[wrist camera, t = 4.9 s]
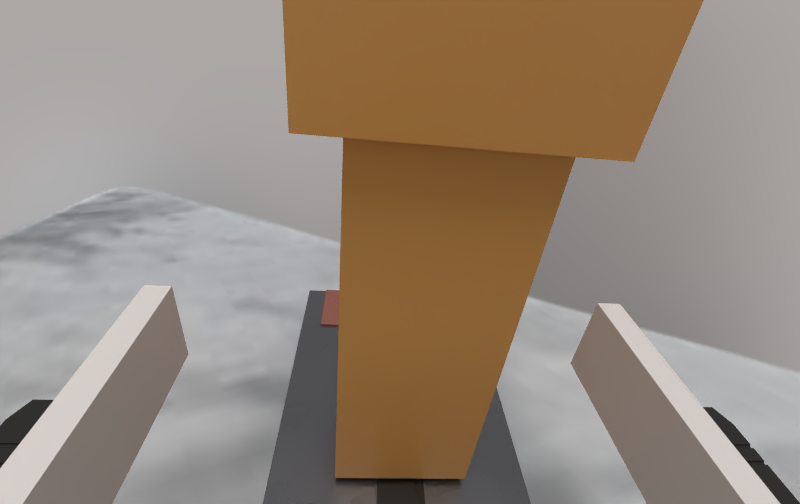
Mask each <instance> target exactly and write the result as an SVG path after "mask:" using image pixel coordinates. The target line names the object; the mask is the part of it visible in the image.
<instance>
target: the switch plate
mask: <svg viewBox="0 0 800 504" xmlns="http://www.w3.org/2000/svg"><path fill="white" fill-rule="evenodd" d="M339 292H340V291H337V290H326V291H310V292H309V297H308V301H307V306H306V311H305V315H304V320H303V324H302V329H301V333H300V338H299V342H298V347H297V351H296V356H295V360H294V365H293V370H292V374H291V379H290V383H289V388H288V392H287V397H286V401H285V406H284V410H283V415H282V420H281V424H280V429H279V433H278V438H277V442H276V447H275V451H274V456H273V460H272V465H271V469H270V474H269V479H268V483H267V488H266V492H265V497H264V501H263V504H531V503H530V500H529V497H528V493H527V490H526V486H525V483H524V480H523V476H522V473H521V469H520V466H519V463H518V459H517V456H516V452H515V449H514V446H513V442H512V439H511V435H510V432H509V429H508V425H507V422H506V419H505V415H504V412H503V408H502V405H501V402H500V398H499V395H498V391H497V388H496V389H495V392H494V395H493V398H492V401H491V404H490V407H489V410H488V412H487V415H486V418H485V421H484V424H483V427H482V430H481V433H480V436H479V438H478V441H477V444H476V447H475V450H474V453H473V456H472V459H471V462H470V465H469V467H468V470H467V473H466V476H465V479H410V478H335V455H336V415H337V374H338V333H339Z"/></svg>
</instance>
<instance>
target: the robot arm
mask: <svg viewBox="0 0 800 504" xmlns="http://www.w3.org/2000/svg"><path fill="white" fill-rule="evenodd" d="M187 356H188V351H187V346H186V342H185V338H184V334H183V330H182V326H181V322H180V318H179V314H178V310H177V305H176V301H175V297H174V293H173V289H172V286H154V285H144V286H143V287H142V288H141V290H140V291H139V292H138V293H137V295H136V296H135V297H134V298H133V300H132V301H131V302H130V304H129V305H128V306H127V307H126V309H125V310H124V311H123V313H122V314H121V315H120V316H119V318H118V319H117V320H116V321H115V323H114V324H113V325H112V327H111V328H110V329H109V330H108V332H107V333H106V334H105V335H104V337H103V338H102V339H101V341H100V342H99V343H98V344H97V346H96V347H95V348H94V349H93V351H92V352H91V353H90V355H89V356H88V357H87V358H86V360H85V361H84V362H83V364H82V365H81V366H80V367H79V369H78V370H77V371H76V372H75V374H74V375H73V376H72V378H71V379H70V380H69V381H68V383H67V384H66V385H65V386H64V388H63V389H62V390H61V392H60V393H59V394H58V395H57V397H56V398H55V399H54V400H32V401H30V402H29V403H28V404H26V405H25V406H24V407H22V408H21V409H20V410H18V411H17V412H15V413H14V414H13V415H11V416H10V417H9V418H7V419H6V420H5V421H4V422H3V423H2V425H1V426H0V504H112V503H113V501H114V499H115V497H116V495H117V493H118V491H119V489H120V487H121V485H122V483H123V481H124V479H125V477H126V475H127V473H128V471H129V469H130V467H131V465H132V463H133V461H134V460H135V458H136V456H137V454H138V452H139V450H140V448H141V446H142V444H143V442H144V440H145V438H146V436H147V434H148V432H149V430H150V428H151V426H152V424H153V422H154V420H155V418H156V416H157V414H158V412H159V411H160V409H161V407H162V405H163V403H164V401H165V399H166V397H167V395H168V393H169V391H170V389H171V387H172V385H173V383H174V381H175V379H176V377H177V375H178V373H179V371H180V369H181V367H182V365H183V363H184V362H185V360H186V358H187ZM571 364H572V366H573V368H574V370H575V372H576V374H577V376H578V377H579V379H580V381H581V383H582V385H583V387H584V388H585V390H586V392H587V394H588V396H589V398H590V400H591V401H592V403H593V405H594V407H595V409H596V411H597V412H598V414H599V416H600V418H601V420H602V422H603V423H604V425H605V427H606V429H607V431H608V433H609V435H610V436H611V438H612V440H613V442H614V444H615V446H616V447H617V449H618V451H619V453H620V455H621V457H622V459H623V460H624V462H625V464H626V466H627V468H628V470H629V471H630V473H631V475H632V477H633V479H634V481H635V483H636V484H637V486H638V488H639V490H640V492H641V494H642V495H643V497H644V499H645V501H646V503H647V504H800V503H799V502H798V500H797V499H796V498H795V497H794V496H793V494H792V493H791V492H790V491H789V490H788V489H787V487H786V486H785V485H784V484H783V483H782V481H781V480H780V479H779V478H778V477H777V475H776V474H775V473H774V472H773V471H772V470H771V468H770V467H769V466H768V465H765V464H764V460H763V459H762V458H761V457H760V455H759V454H758V453H757V452H756V451H755V449H754V448H751V447H750V443H749V442H748V441H747V440H746V439H745V438H744V436H743V435H742V434H741V433H740V432H739V430H738V429H737V428H736V427H735V426H734V425H733V424H732V423H731V422H730V421H728V420H727V419H726V418H725V417H723V416H722V415H721V414H720V413H718V412H717V411H716V410H715V409H713V408H712V407H702V406H701V404H700V403H699V402H698V401H697V399H696V398H695V397H694V396H693V394H692V393H691V392H690V391H689V389H688V388H687V387H686V386H685V384H684V383H683V382H682V381H681V379H680V378H679V377H678V376H677V375H676V373H675V372H674V371H673V370H672V368H671V367H670V366H669V365H668V363H667V362H666V361H665V360H664V358H663V357H662V356H661V355H660V353H659V352H658V351H657V350H656V348H655V347H654V346H653V345H652V343H651V342H650V341H649V340H648V338H647V337H646V336H645V335H644V333H643V332H642V331H641V330H640V329H639V327H638V326H637V325H636V324H635V322H634V321H633V320H632V319H631V317H630V316H629V315H628V314H627V312H626V311H625V310H624V309H623V307H622V306H621V305H620V304H602V303H598V304H597V306H596V308H595V311H594V313H593V315H592V317H591V319H590V321H589V324H588V326H587V328H586V330H585V333H584V335H583V337H582V339H581V342H580V344H579V346H578V348H577V351H576V353H575V355H574V357H573V359H572V362H571Z"/></svg>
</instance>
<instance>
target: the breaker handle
mask: <svg viewBox="0 0 800 504" xmlns="http://www.w3.org/2000/svg"><path fill="white" fill-rule="evenodd" d="M702 2H703V0H283V21H284V42H285V63H286V84H287V104H288V125H289V133H295V134H307V135H318V136H330V137H342V138H343V170H342V173H343V174H342V211H341V251H340V292H339V333H338V374H337V415H336V455H335V478H410V479H465V476H466V473H467V470H468V467H469V465H470V462H471V459H472V456H473V453H474V450H475V447H476V444H477V441H478V438H479V436H480V433H481V430H482V427H483V424H484V421H485V418H486V415H487V412H488V410H489V407H490V404H491V401H492V398H493V395H494V392H495V389H496V386H497V383H498V381H499V378H500V375H501V372H502V369H503V366H504V363H505V360H506V357H507V354H508V352H509V349H510V346H511V343H512V340H513V337H514V334H515V331H516V328H517V325H518V323H519V320H520V317H521V314H522V311H523V308H524V305H525V302H526V299H527V296H528V293H529V290H530V288H531V285H532V282H533V279H534V276H535V273H536V270H537V267H538V264H539V262H540V259H541V256H542V253H543V250H544V247H545V244H546V241H547V238H548V235H549V233H550V230H551V227H552V224H553V221H554V218H555V215H556V212H557V209H558V206H559V203H560V201H561V198H562V195H563V192H564V189H565V186H566V183H567V181H568V178H569V174H570V172H571V169H572V166H573V163H574V160H575V157H583V158H595V159H607V160H618V161H631V162H634V161H635V159H636V156H637V154H638V151H639V149H640V147H641V145H642V142H643V140H644V138H645V135H646V133H647V131H648V128H649V126H650V124H651V121H652V119H653V117H654V114H655V112H656V110H657V107H658V105H659V103H660V100H661V98H662V96H663V93H664V91H665V89H666V86H667V84H668V81H669V79H670V77H671V75H672V72H673V70H674V68H675V65H676V63H677V61H678V58H679V56H680V53H681V51H682V49H683V47H684V44H685V42H686V40H687V37H688V35H689V33H690V30H691V28H692V26H693V23H694V21H695V19H696V16H697V14H698V12H699V9H700V7H701V5H702Z"/></svg>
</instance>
